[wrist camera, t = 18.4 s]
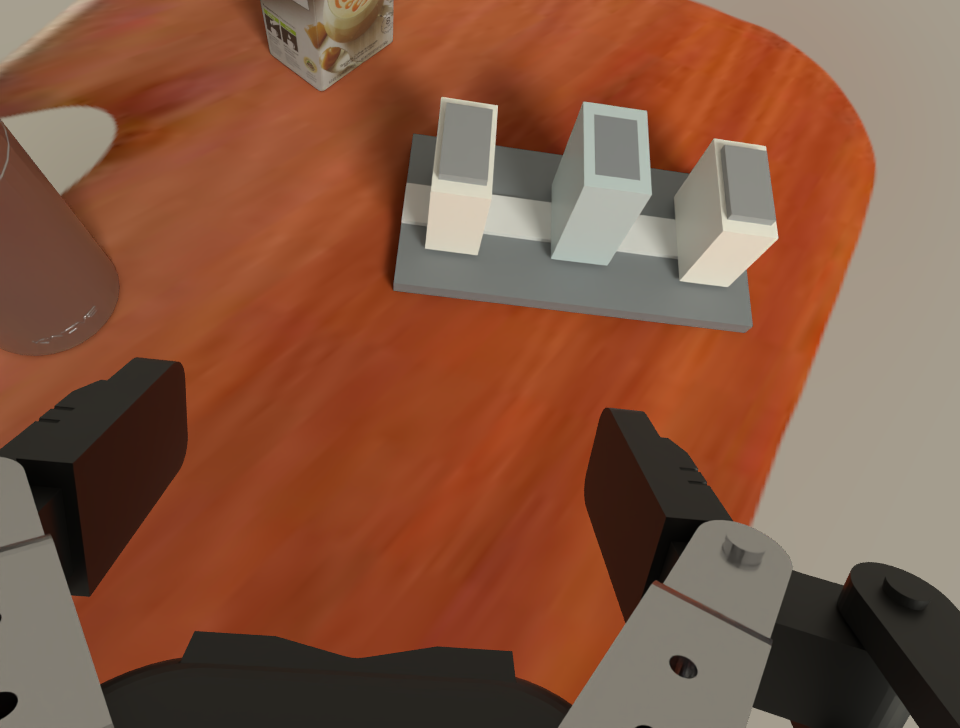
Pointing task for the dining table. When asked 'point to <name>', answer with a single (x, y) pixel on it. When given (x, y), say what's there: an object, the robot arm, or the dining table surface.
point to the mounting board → (557, 283)
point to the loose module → (600, 183)
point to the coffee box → (326, 35)
